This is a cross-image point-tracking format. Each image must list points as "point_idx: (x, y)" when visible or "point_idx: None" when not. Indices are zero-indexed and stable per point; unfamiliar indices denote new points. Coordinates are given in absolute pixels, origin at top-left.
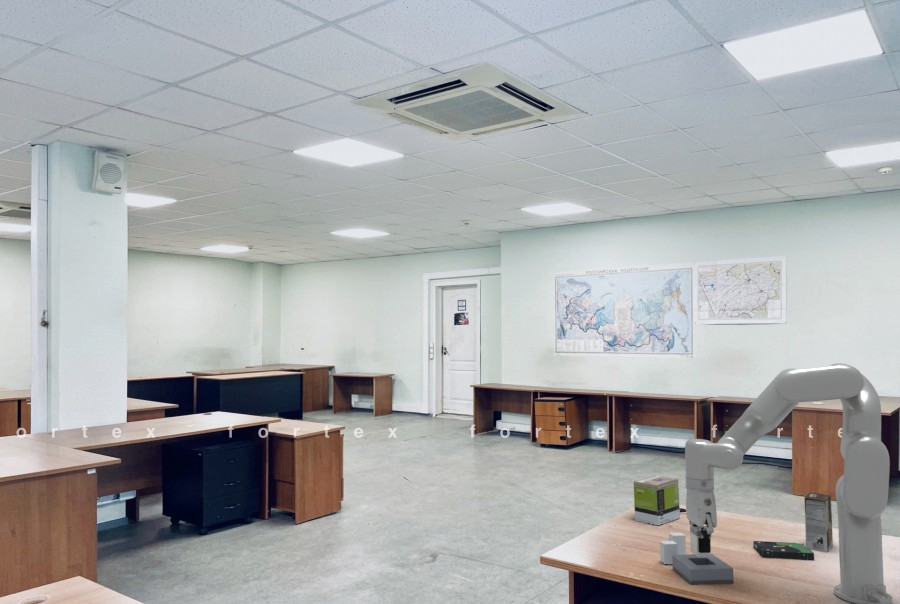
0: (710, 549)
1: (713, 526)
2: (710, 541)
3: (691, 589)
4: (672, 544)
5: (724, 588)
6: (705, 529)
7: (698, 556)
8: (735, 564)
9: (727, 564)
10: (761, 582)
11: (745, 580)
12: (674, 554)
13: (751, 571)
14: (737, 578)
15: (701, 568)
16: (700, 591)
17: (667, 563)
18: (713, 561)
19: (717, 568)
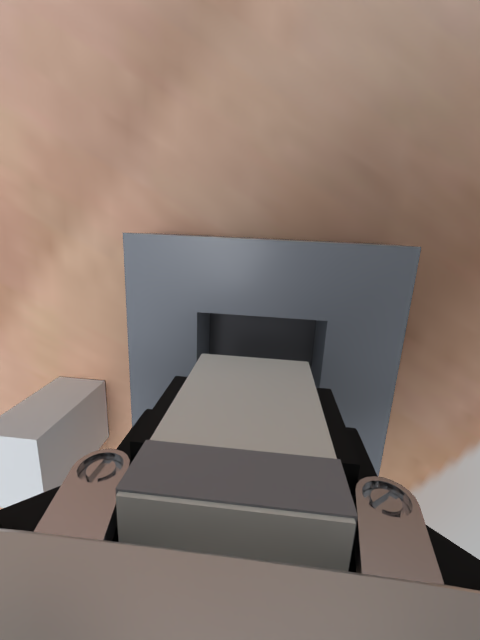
0: (313, 383)
1: (459, 589)
2: (325, 420)
3: (406, 471)
4: (41, 465)
5: (437, 328)
6: (294, 563)
7: (168, 349)
8: (102, 56)
9: (340, 244)
10: (413, 60)
11: (360, 148)
12: (77, 419)
13: (227, 14)
14: (322, 179)
15: (375, 441)
16: (439, 449)
17: (104, 427)
18: (270, 307)
19: (398, 352)
